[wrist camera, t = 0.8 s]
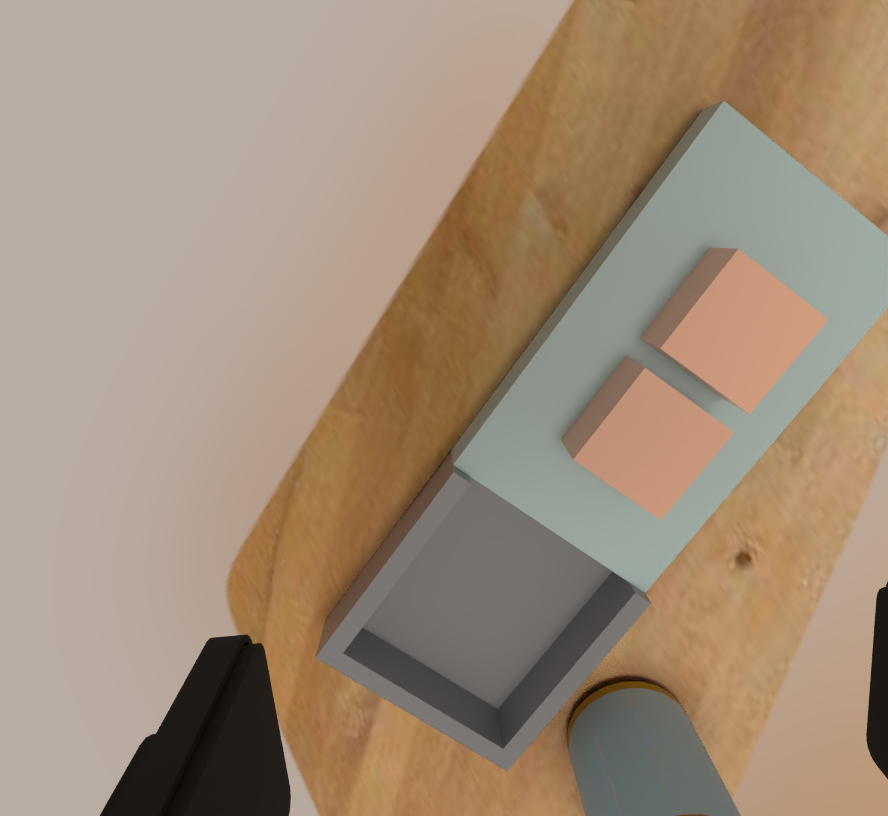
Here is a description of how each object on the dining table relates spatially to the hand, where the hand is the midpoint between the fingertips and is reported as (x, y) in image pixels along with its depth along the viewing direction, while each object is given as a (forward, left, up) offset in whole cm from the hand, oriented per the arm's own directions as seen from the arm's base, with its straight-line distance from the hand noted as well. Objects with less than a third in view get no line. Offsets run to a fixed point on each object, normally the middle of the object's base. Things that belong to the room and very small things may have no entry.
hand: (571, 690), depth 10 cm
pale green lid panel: (-6, +8, -25) cm, 27 cm away
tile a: (-8, +8, -23) cm, 25 cm away
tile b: (-2, +8, -23) cm, 24 cm away
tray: (+10, +8, -25) cm, 28 cm away
